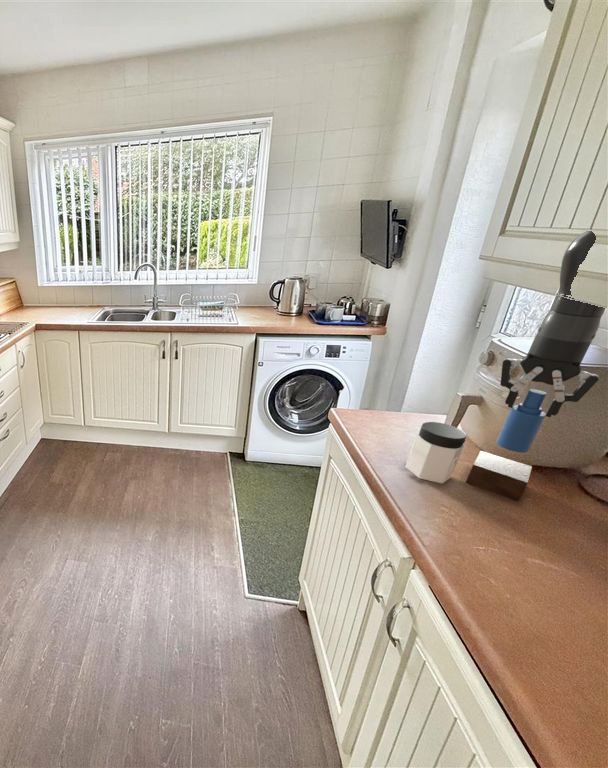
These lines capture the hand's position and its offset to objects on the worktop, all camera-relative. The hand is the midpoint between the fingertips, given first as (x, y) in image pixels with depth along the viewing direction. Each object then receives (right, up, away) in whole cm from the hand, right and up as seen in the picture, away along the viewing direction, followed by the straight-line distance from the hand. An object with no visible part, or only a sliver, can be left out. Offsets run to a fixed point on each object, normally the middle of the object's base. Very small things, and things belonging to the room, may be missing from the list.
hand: (528, 410), depth 86 cm
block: (0, -18, +8) cm, 19 cm away
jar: (-12, -16, +12) cm, 23 cm away
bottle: (0, -8, +4) cm, 9 cm away
